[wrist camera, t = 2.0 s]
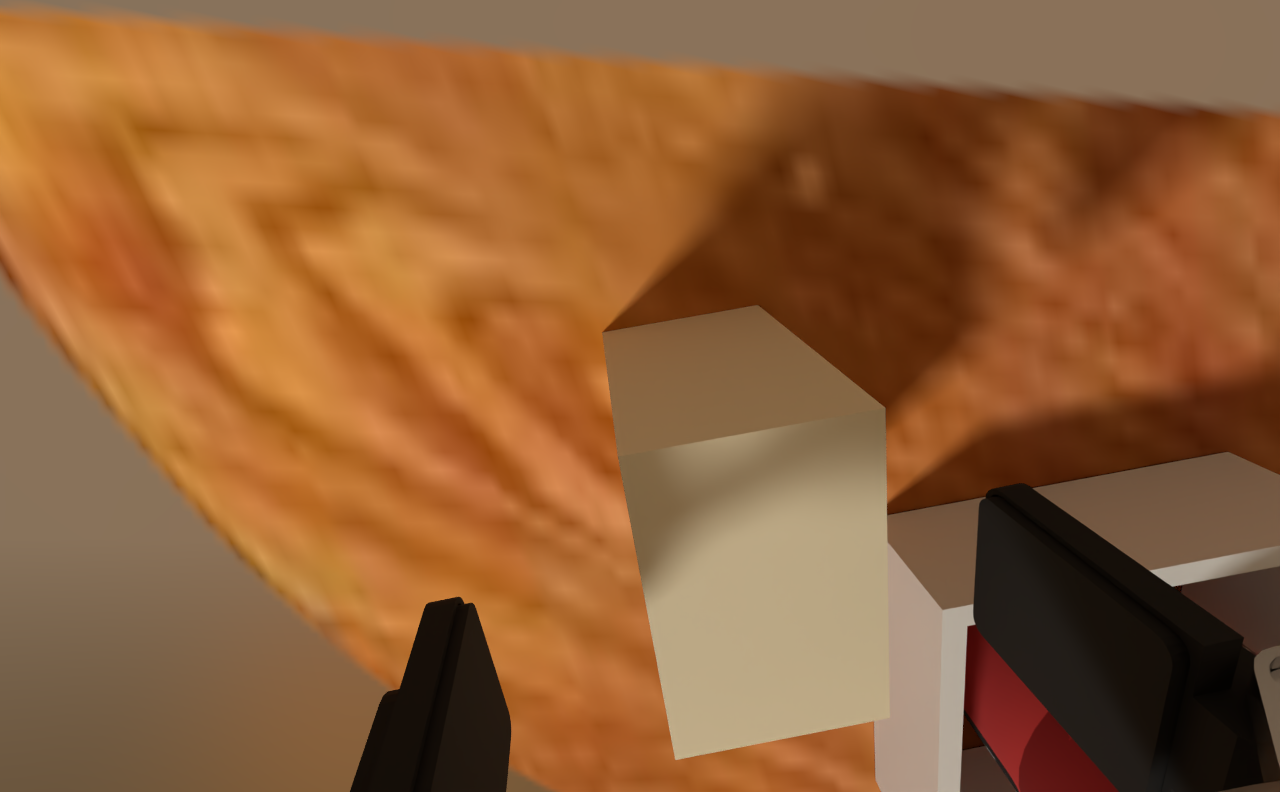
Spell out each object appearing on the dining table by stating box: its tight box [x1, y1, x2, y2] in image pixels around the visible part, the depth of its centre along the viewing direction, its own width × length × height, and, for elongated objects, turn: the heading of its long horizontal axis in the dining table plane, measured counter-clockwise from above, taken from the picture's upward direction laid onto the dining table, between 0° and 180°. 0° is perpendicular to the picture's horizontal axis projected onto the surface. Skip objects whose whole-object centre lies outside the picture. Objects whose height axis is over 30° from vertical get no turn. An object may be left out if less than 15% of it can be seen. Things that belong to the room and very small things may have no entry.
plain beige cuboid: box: [602, 305, 890, 760], centre depth 15 cm, size 4×7×8 cm, turn 9°
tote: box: [874, 452, 1280, 792], centre depth 21 cm, size 12×12×4 cm
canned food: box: [963, 624, 1257, 792], centre depth 18 cm, size 8×8×11 cm
